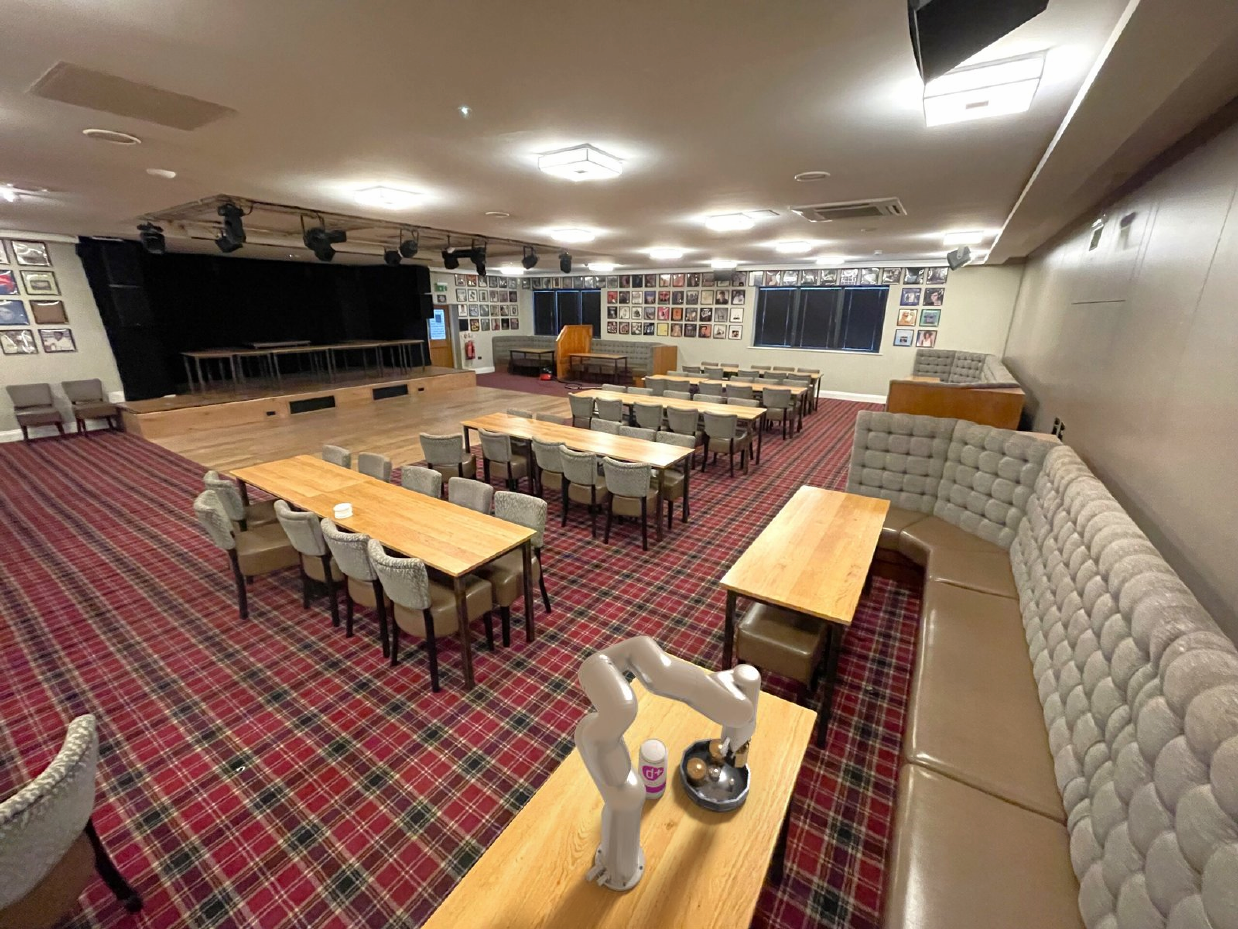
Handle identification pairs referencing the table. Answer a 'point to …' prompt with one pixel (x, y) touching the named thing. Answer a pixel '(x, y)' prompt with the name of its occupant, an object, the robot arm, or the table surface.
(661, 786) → the supplement can
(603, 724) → the robot arm
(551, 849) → the table surface
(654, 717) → the table surface
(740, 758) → the tan hollow faceted cylinder
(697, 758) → the tray
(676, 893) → the table surface
